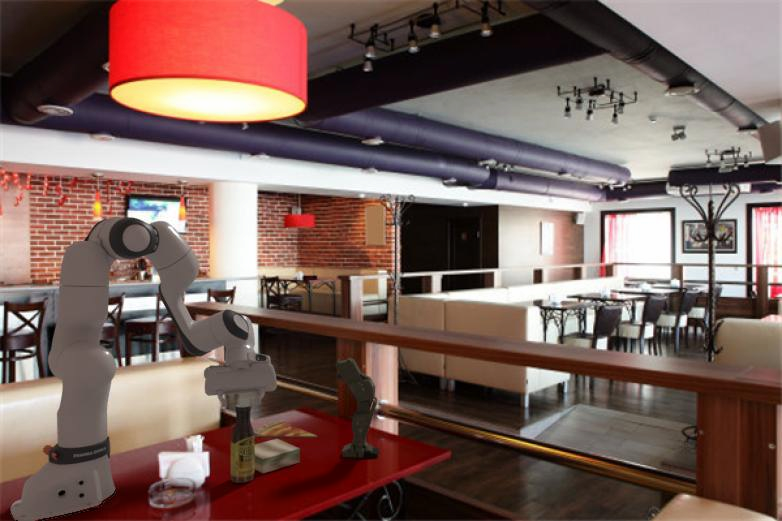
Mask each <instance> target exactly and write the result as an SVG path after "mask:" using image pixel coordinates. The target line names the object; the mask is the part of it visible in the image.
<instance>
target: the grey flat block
mask: <svg viewBox="0 0 782 521" xmlns="http://www.w3.org/2000/svg"><path fill="white" fill-rule="evenodd" d="M300 456H301V448H299V447H297V446H295V445H292V444H290V443H288V442H286V441H284V440H281V439H279V438H275V439H271V440H267V441H263V442H260V443H259V442H258V443H255V471H257V472H260V473H261V474H266V473H268V472H273V471H276V470H278V469H279V470H280V469H281V468H286V467H289V466H292V465H294V464H298V463H301V457H300Z"/></svg>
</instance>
